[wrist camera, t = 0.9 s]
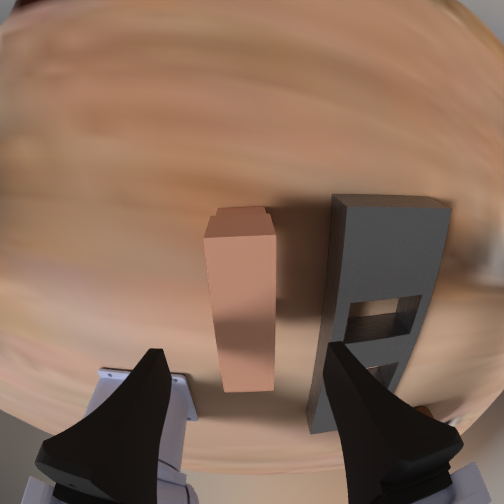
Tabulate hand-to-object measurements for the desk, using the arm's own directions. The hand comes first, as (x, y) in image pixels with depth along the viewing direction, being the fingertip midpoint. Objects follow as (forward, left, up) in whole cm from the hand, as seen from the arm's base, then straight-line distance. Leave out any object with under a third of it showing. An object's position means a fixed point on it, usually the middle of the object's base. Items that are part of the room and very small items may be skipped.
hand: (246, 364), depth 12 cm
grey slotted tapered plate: (+10, -7, -9) cm, 15 cm away
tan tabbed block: (0, 0, -9) cm, 9 cm away
